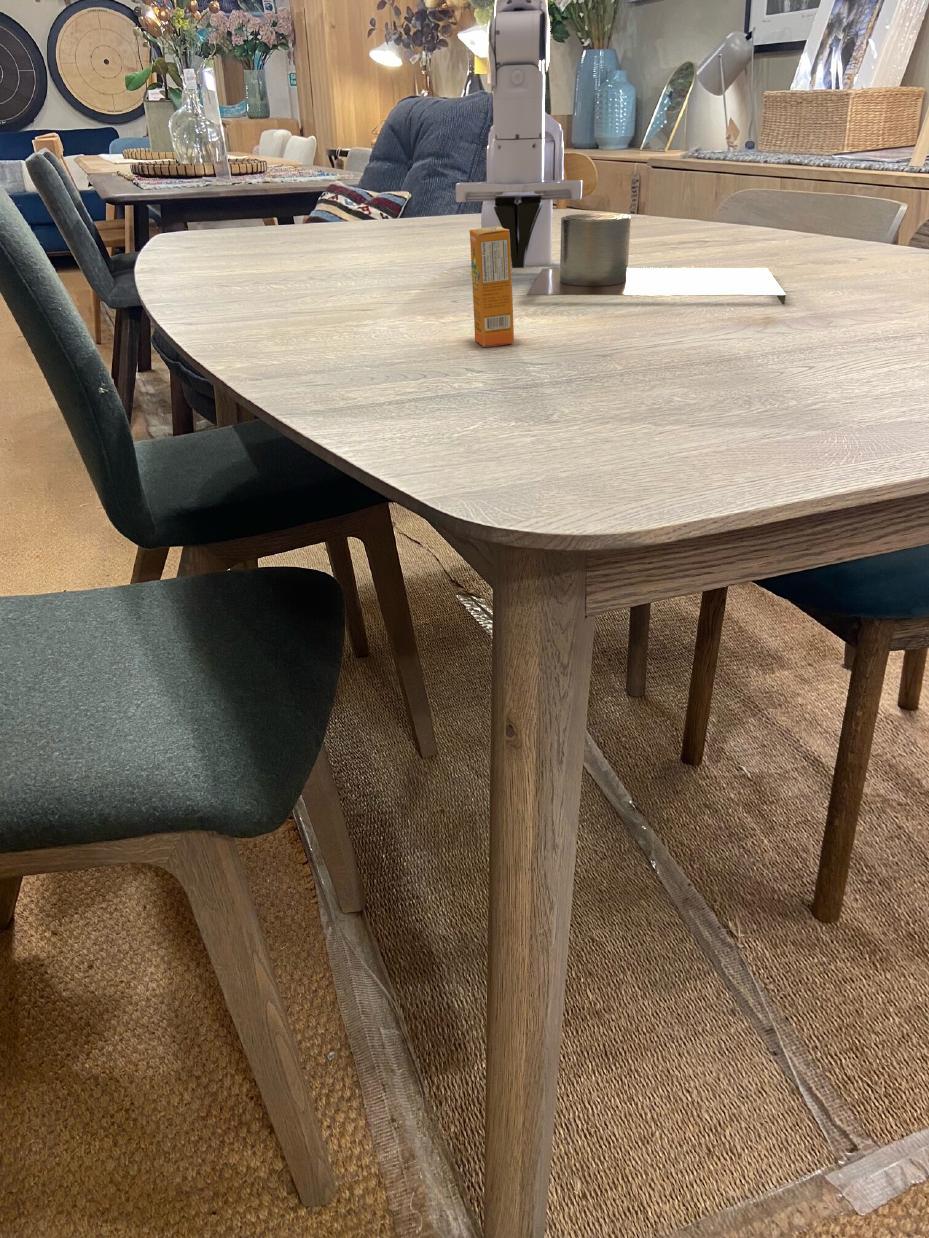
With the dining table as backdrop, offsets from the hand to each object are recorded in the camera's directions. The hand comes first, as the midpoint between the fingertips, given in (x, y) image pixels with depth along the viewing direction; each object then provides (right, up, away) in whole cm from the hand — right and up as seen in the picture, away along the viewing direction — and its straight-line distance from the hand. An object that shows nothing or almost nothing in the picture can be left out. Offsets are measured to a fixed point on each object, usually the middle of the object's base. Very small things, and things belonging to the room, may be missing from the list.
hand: (518, 267), depth 107 cm
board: (+16, -3, -1) cm, 16 cm away
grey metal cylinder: (+9, -2, -1) cm, 9 cm away
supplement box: (-4, -16, -22) cm, 28 cm away
